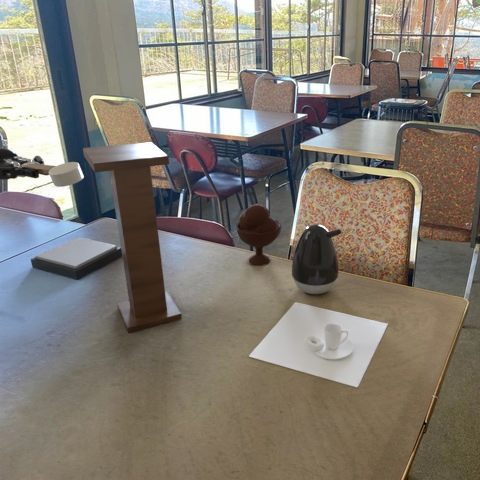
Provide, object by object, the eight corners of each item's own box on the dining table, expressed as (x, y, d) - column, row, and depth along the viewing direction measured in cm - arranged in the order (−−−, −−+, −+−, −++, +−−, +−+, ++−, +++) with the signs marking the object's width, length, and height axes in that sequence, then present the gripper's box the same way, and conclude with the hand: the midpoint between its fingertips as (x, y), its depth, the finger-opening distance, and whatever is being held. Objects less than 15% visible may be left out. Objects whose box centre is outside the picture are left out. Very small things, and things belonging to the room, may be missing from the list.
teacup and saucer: (299, 353, 85) (299, 334, 83) (315, 329, 92) (316, 311, 90) (345, 366, 82) (347, 346, 80) (359, 340, 89) (361, 322, 87)
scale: (30, 267, 112) (28, 256, 111) (79, 245, 124) (77, 234, 123) (77, 279, 107) (75, 268, 106) (123, 255, 119) (121, 244, 118)
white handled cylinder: (15, 181, 111) (9, 169, 110) (38, 169, 116) (33, 157, 114) (67, 188, 104) (62, 175, 103) (90, 175, 109) (85, 162, 107)
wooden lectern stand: (109, 301, 99) (82, 148, 86) (167, 287, 105) (150, 142, 92) (122, 334, 89) (94, 165, 76) (186, 317, 95) (170, 157, 82)
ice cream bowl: (289, 263, 117) (289, 205, 111) (248, 274, 112) (246, 214, 105) (268, 248, 125) (268, 193, 119) (229, 257, 119) (226, 200, 113)
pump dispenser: (339, 301, 102) (342, 235, 96) (290, 299, 102) (290, 233, 96) (337, 278, 111) (340, 217, 105) (293, 277, 111) (293, 215, 105)
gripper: (23, 170, 124) (71, 180, 117) (-33, 183, 112) (17, 196, 106) (17, 141, 121) (65, 150, 114) (-41, 152, 109) (9, 162, 103)
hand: (42, 172), depth 110 cm, fingers closed on white handled cylinder, 2 cm apart
